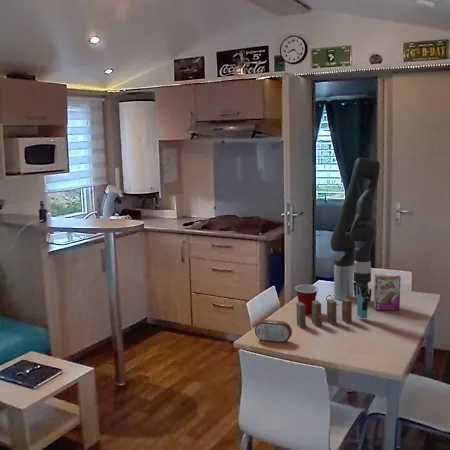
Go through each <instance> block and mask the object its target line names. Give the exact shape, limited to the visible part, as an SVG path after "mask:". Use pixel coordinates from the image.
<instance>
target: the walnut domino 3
mask: <svg viewBox="0 0 450 450" xmlns="http://www.w3.org/2000/svg"><path fill="white" fill-rule="evenodd" d="M337 312H338V311H337V301H336V300H334V299H332V298H331V299H329V298H328V299H326V322H327V323H328V324H330V325H331V326H336V325H337V323H338V322H337V319H338V318H337V316H338V315H337Z"/></svg>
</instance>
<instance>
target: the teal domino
mask: <svg viewBox="0 0 450 450" xmlns="http://www.w3.org/2000/svg"><path fill="white" fill-rule="evenodd" d="M363 295H365V294H363ZM356 307H357V309H356V311H357V312H356V313H357V314H356V315H357V316H358V317H359V318H360V319H362V320H363V319H368V309H367V310H362V297H361V296H360V294H358V295H357V298H356Z"/></svg>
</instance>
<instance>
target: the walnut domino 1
mask: <svg viewBox="0 0 450 450" xmlns="http://www.w3.org/2000/svg"><path fill="white" fill-rule="evenodd" d="M306 315H307V314H306V308H305V304H304V303H302V302H299V301H297V302H296V326H297V327H298V328H300V329H305V327H306V325H307V322H306V321H307V320H306V319H307V318H306V317H307V316H306ZM306 328H307V327H306Z"/></svg>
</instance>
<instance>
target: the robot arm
mask: <svg viewBox="0 0 450 450" xmlns="http://www.w3.org/2000/svg"><path fill="white" fill-rule="evenodd" d="M380 165H381V164H380V162H379V160H378V159H371V158H365V157H358V158H357V159H356V160H355V162H354V165H353V169H352V173H351V177H350V181H349V185H348V189H347V190H346V191H347V192H346V194H345V198H344V201H343V204H342V206H341V211H340V214H339V218H338V220H337V223H336V226H335V227H334V230H333V232H332V235H331V237H330V248H331V250H332V251H333V252H338V253H339V252H340V253H341V254H339V255H338V256H336V257H335V258H334V259H333V272H334V273H333V284H334V285H333V288H334V289H333V297H334V299H335V300H339V301H342V298H348V299H350V300H352V299H353V298H354V296H355V298H356V299H357V295H358V294H360V296H361V297H362V310H367V311H368V308H369V306H368V305H369V304H368V302H371V299H372V292H373V291H372V288H369V283H370V282H371V281H372V261H371V260H372V259H371V258H372V257H371V256H372V255H371V253H372V247H373V242H374V239H375V235H376V230H375V228H374V227H373V226H372V225H363V224H367V223H369V222H371V221H372V219H373V207H374V200H375V194H376V191H377V185H378V181H379V175H380V170H381V169H380V168H381V166H380ZM360 179H363V180H368V181H369V184H368V186H367V188H366V189H365V191H364V192H363V193H362V192H361V188H360V185H359V180H360ZM349 229H350V231H348V230H349ZM357 242H358V243H359V242H360V243H362V242H363V243H365V245H362V246H356V243H357ZM355 246H356V247H355ZM363 294H365V295H363Z"/></svg>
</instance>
